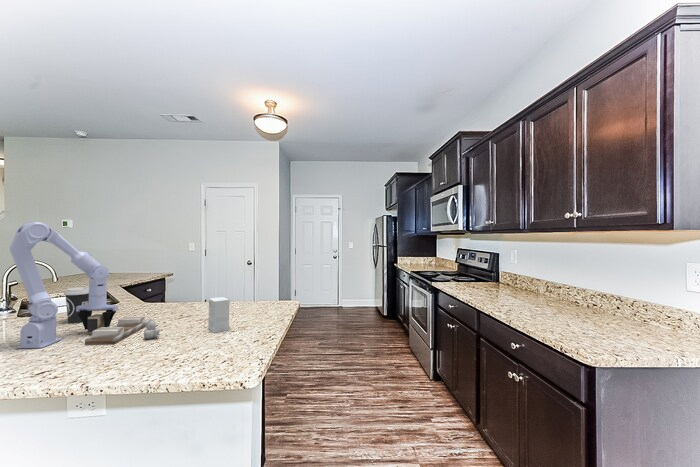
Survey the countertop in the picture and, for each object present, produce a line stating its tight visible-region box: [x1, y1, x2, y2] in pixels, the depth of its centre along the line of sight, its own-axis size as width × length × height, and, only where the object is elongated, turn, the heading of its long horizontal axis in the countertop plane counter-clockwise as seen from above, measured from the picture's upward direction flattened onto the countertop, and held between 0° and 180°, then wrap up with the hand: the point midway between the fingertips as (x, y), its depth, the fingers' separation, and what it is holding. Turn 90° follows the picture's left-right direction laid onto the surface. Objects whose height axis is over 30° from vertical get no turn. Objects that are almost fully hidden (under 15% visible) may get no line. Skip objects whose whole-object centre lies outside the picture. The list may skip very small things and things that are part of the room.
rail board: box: [84, 315, 150, 346], centre depth 129 cm, size 26×10×4 cm, turn 7°
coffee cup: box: [63, 286, 89, 324], centre depth 146 cm, size 10×10×15 cm
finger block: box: [87, 313, 104, 336], centre depth 130 cm, size 6×4×7 cm
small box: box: [207, 296, 230, 333], centre depth 137 cm, size 8×6×13 cm
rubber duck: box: [143, 317, 161, 340], centre depth 124 cm, size 5×7×8 cm
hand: (97, 328), depth 130 cm, fingers open, 7 cm apart
